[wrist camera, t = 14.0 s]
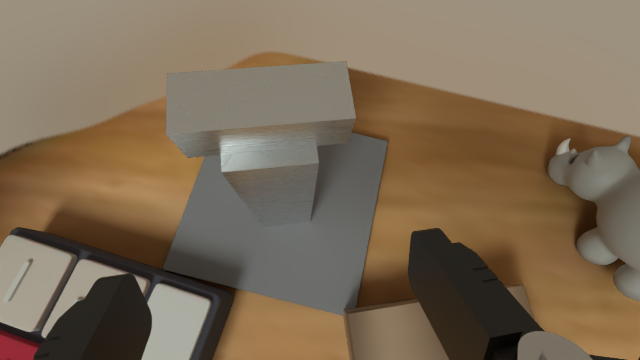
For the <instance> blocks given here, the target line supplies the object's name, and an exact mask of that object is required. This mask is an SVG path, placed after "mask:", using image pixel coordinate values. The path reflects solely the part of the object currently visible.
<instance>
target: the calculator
mask: <svg viewBox="0 0 640 360" xmlns="http://www.w3.org/2000/svg"><path fill="white" fill-rule="evenodd" d="M127 273H131V274H133V275H134V276H135V278H136V280H137V282H138V284H139V286H140V289H141V291H142V293H143V295H144V297H145V300H146V302H147V304H148V306H149V308H150V311H151V315H152V329H151V333H150V337H149V339H148V342H147V345H146V348H145V351H144V354H143V356H142V359H141V360H212V358H213V355H214V352H215V349H216V347H217V344H218V341H219V339H220V336H221V333H222V330H223V328H224V325H225V322H226V319H227V317H228V314H229V311H230V308H231V306H232V303H233V300H234V296H233V294H232V293H231V292H229V291H226V290H223V289H220V288H217V287H214V286H211V285H207V284H204V283H201V282H198V281H195V280H192V279H189V278H186V277H183V276H179V275H176V274H172V273H169V272H166V271H163V270H160V269H157V268H154V267H151V266H148V265H145V264H142V263H139V262H136V261H133V260H130V259H127V258H124V257H121V256H118V255H115V254H112V253H109V252H106V251H103V250H100V249H97V248H94V247H91V246H88V245H85V244H82V243H79V242H76V241H73V240H70V239H67V238H64V237H61V236H57V235H54V234H51V233H46V232H41V231H36V230H31V229H26V228H20V227H18V228H15V229H13V230H12V231H11V233H10V234H9V236H7V238H6V239H5V240H4V242H3V243H2V245H1V247H0V360H33V359H34V354H35V353H36V351H37V350H38V348H39V347H40V345H41V344H42V343H43V342H45V338H46V336H47V335H48V333H49V332H50V330H51V329H52V327H53V326H54V324H55V323H56V321H57V320H58V318H59V317H61V316H62V315H63V314H64V313H65V312H66V311H67V310H68V309H69V308H70V307H71V306H73V305H74V304H75V303H76V302H77V301H80V300H84V299H85V297H86V295H87V294H88V292H89V291H90V289H91V287H92V286H93V284H94V283H95V281H96V280H97V279H99V278H101V277H107V276H114V275H121V274H127Z"/></svg>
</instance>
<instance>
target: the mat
mask: <svg viewBox="0 0 640 360" xmlns="http://www.w3.org/2000/svg"><path fill="white" fill-rule="evenodd" d="M387 143H388V141H384V140H380V139H376V138H372V137H368V136H364V135H360V134H356V133H352V132H351V135H350V138H349V141H348V143H344V144H333V145H322V146H317V151H318V159H319V166H318V173H317V180H316V186H315V193H314V199H313V206H312V213H311V219H310V222H307V223H298V224H289V225H280V226H271V227H262V226H261V225H260V224H259V222H258V221H257V220H256V218H255V217H254V216H253V214H252V213H251V212H250V210H249V209H248V208H247V206H246V205H245V203H244V202H243V201H242V199H241V198H240V197H239V195H238V194H237V193H236V191H235V190H234V189H233V187H232V186H231V185H230V183H229V182H228V181H227V179H226V178H225V177H224V175H223V174H222V173H221V155H212V156H205V158H204V161H203V163H202V166H201V168H200V171H199V174H198V176H197V179H196V182H195V184H194V187H193V190H192V192H191V195H190V197H189V200H188V203H187V205H186V208H185V211H184V213H183V216H182V219H181V221H180V224H179V226H178V229H177V232H176V234H175V237H174V240H173V242H172V245H171V248H170V250H169V253H168V255H167V258H166V261H165V263H164V266H163V270H167V271H171V272H175V273H179V274H183V275H187V276H191V277H194V278H198V279H202V280H206V281H210V282H214V283H218V284H222V285H226V286H230V287H234V288H237V289H241V290H245V291H249V292H253V293H257V294H261V295H265V296H269V297H273V298H277V299H280V300H284V301H288V302H292V303H296V304H300V305H304V306H308V307H312V308H316V309H319V310H323V311H327V312H331V313H335V314H339V315H343V316H344V311H345V310H351V309H356V303H357V298H358V293H359V288H360V283H361V278H362V272H363V267H364V262H365V257H366V252H367V247H368V242H369V236H370V231H371V226H372V221H373V216H374V211H375V205H376V200H377V195H378V190H379V185H380V180H381V174H382V169H383V164H384V159H385V154H386V149H387Z"/></svg>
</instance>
